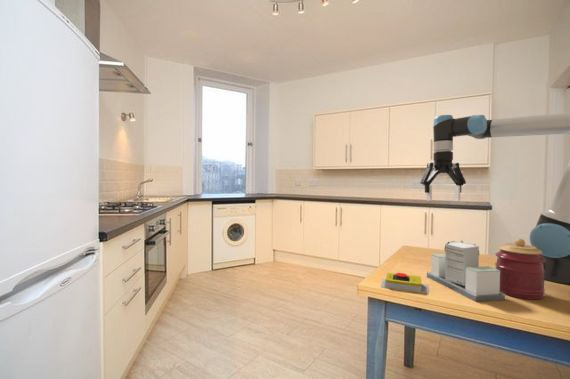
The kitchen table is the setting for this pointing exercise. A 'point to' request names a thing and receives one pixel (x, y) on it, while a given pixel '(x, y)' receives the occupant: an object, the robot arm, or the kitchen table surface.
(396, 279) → the emergency button
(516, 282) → the canister
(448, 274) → the grey ridged module
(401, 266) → the kitchen table surface
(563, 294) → the kitchen table surface
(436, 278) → the mounting rail
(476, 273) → the grey module pair
